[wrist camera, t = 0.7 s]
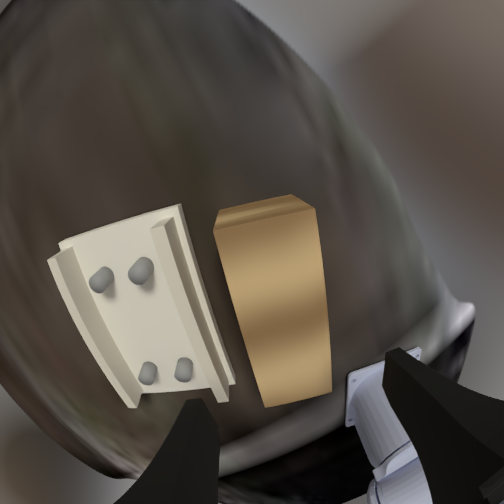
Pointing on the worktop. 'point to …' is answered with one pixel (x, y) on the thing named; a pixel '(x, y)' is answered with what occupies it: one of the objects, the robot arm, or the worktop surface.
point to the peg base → (144, 306)
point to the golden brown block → (278, 295)
